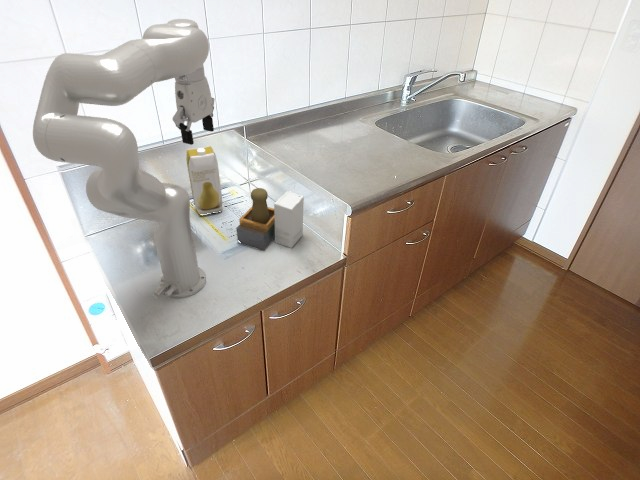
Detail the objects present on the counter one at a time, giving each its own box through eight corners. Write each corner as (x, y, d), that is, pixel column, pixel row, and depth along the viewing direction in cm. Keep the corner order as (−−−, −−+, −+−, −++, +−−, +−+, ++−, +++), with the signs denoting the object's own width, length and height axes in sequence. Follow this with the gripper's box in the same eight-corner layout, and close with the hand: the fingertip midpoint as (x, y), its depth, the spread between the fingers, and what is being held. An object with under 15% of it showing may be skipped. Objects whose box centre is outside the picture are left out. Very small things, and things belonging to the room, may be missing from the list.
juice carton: (198, 218, 142) (187, 155, 127) (193, 207, 147) (182, 144, 132) (225, 213, 145) (217, 150, 130) (219, 201, 151) (211, 140, 136)
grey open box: (264, 250, 130) (263, 230, 125) (238, 242, 132) (235, 222, 127) (283, 226, 140) (283, 207, 135) (258, 220, 143) (257, 200, 138)
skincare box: (287, 229, 139) (286, 189, 129) (304, 235, 137) (305, 195, 127) (274, 243, 133) (272, 202, 123) (292, 249, 131) (292, 208, 121)
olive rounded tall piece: (252, 226, 129) (250, 196, 123) (250, 215, 134) (247, 186, 127) (271, 224, 131) (270, 194, 124) (268, 213, 135) (267, 184, 129)
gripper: (180, 85, 98) (191, 151, 109) (220, 67, 111) (226, 128, 121) (154, 81, 100) (168, 146, 111) (197, 63, 113) (205, 123, 123)
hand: (198, 136), depth 116 cm, fingers open, 9 cm apart
